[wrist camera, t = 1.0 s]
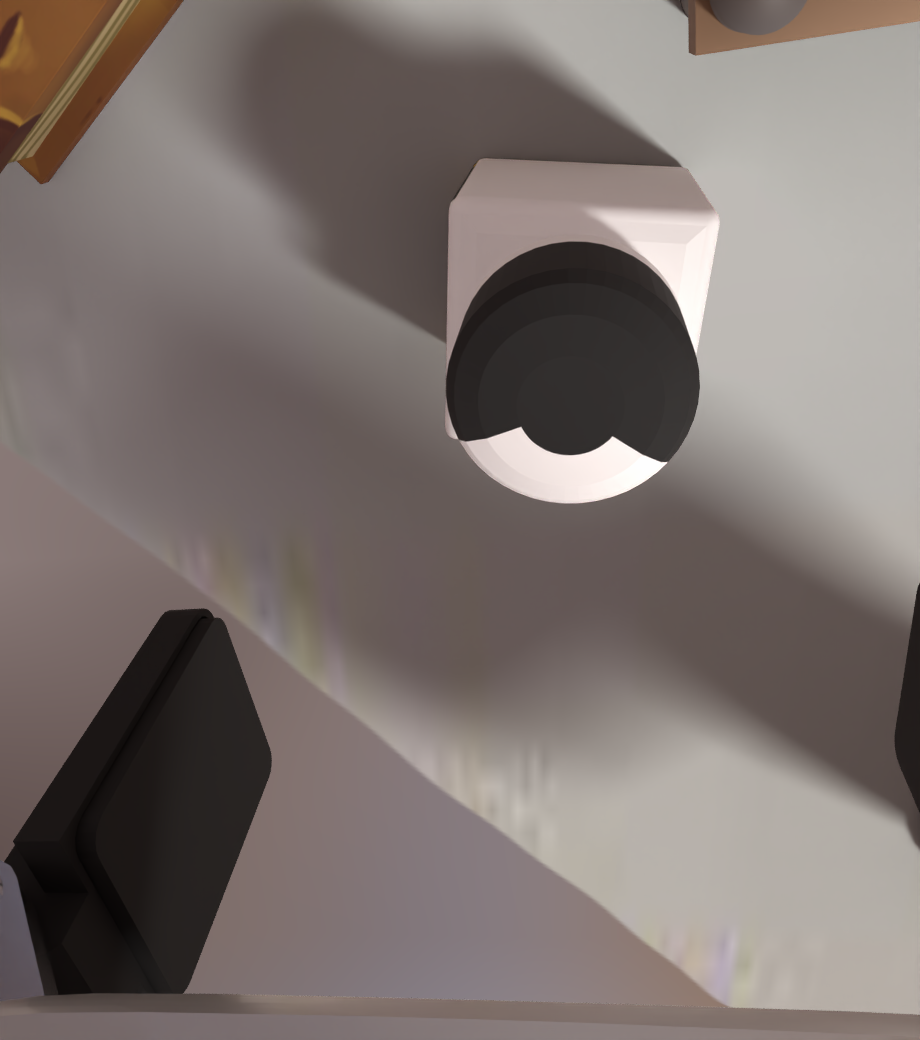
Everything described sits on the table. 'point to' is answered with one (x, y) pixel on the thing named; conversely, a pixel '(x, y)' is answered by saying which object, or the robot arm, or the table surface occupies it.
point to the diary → (65, 70)
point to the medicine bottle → (575, 322)
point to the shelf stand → (785, 20)
